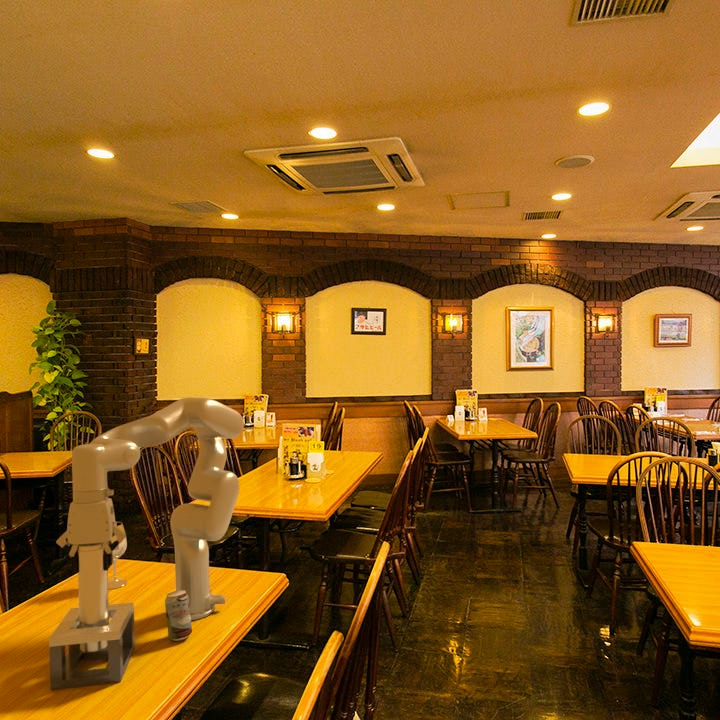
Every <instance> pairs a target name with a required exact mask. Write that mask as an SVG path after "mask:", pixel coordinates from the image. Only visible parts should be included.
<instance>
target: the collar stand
mask: <svg viewBox="0 0 720 720" xmlns="http://www.w3.org/2000/svg"><path fill="white" fill-rule="evenodd" d="M109 619H111V620H109V625H108V626H99V627H89V628H80V624H79V607H73V608H72V607H71V608H70V609H69V611H68V612H67V613H66V615H65V616H64V617H63V619H62V620H61V621H60V623H59V624H58V625H57V626H56V628H55V629H54V631H53V632H52V633H51V635H50V636H49V637H48V642H49V643H48V645H49V646H48V647H49V677H50V678H49V679H50V691H57V690H67V689H74V688H83V687H84V688H85V687H91V686H101V685H108V684H115V683H116V684H117V683H121V682H122V680H123V678H124V674H125V673H126V670H127V668H128V665H129V664H130V661H131V659H132V656H133V654H134V651H135V648H136V644H135V643H136V641H135V639H136V638H135V603H134V601H133V602H125V603H115V604H109ZM99 641H108V646H107V647H105V648H103V649H101V650H99V651H95V652H83V651H81V650H80V643H90V642H99ZM66 646H68V654H67V655H66ZM101 659H102V660H103V659H108V667H103V668H95V669H85V670H78V669H79V667H80V665H81V664H82V662H84V661H92V660H93V661H94V660H101Z"/></svg>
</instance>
